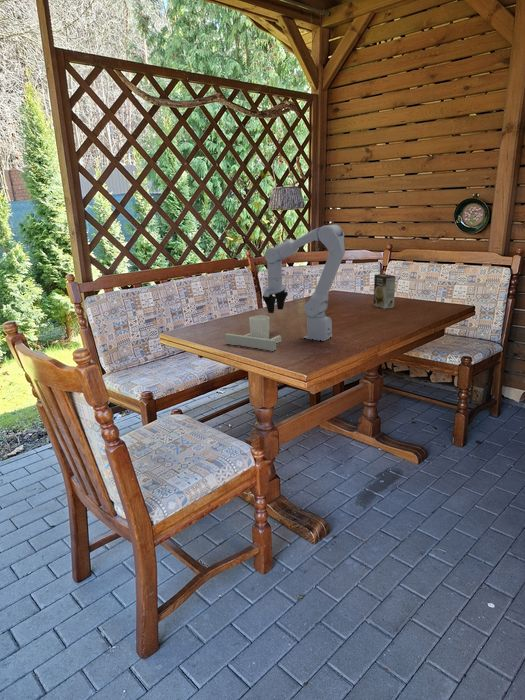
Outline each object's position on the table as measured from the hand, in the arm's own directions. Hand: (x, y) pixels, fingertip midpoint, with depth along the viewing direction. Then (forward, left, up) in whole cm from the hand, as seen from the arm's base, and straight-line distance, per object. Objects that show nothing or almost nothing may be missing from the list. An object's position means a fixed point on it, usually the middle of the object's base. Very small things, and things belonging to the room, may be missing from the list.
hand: (275, 311), depth 194 cm
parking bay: (-2, +16, -9) cm, 19 cm away
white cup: (-2, +15, -10) cm, 18 cm away
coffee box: (-22, -69, -10) cm, 73 cm away
